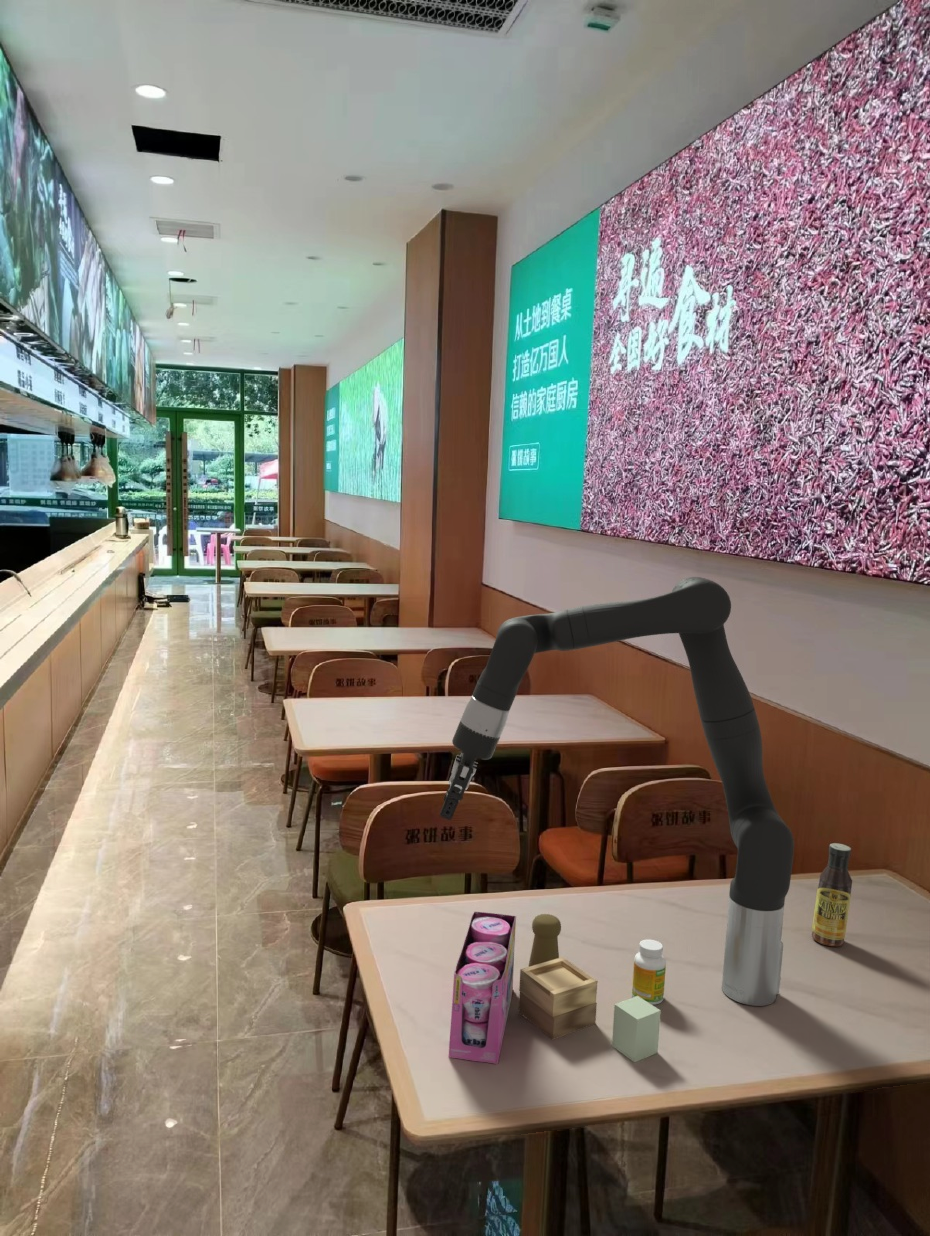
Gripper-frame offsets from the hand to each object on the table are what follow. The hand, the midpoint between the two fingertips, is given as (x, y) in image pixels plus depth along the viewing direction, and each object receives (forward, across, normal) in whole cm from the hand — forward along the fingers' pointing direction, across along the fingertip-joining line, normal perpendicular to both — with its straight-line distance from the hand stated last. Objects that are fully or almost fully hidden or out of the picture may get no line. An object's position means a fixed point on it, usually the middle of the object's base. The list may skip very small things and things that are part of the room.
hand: (446, 809), depth 160 cm
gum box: (+26, -14, -18) cm, 35 cm away
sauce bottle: (+4, +24, -82) cm, 85 cm away
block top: (+18, -12, -28) cm, 36 cm away
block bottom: (+22, -12, -29) cm, 39 cm away
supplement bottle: (+17, -3, -44) cm, 48 cm away
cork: (+23, +2, -28) cm, 36 cm away
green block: (+18, -19, -41) cm, 48 cm away
